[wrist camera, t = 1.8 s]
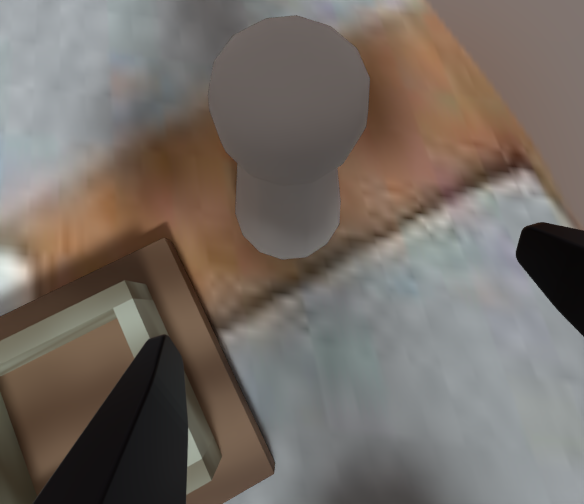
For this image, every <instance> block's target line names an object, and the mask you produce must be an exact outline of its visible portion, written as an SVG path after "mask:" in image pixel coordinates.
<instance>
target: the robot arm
mask: <svg viewBox="0 0 584 504" xmlns="http://www.w3.org/2000/svg"><path fill="white" fill-rule="evenodd" d="M516 258H517V260H518V262H519V263H520V265H521V266H522V267H523V268H524V270H525V271H526V272H527V273H528V274H529V276H530V277H531V278H532V279H533V281H534V282H535V283H536V284H537V286H538V287H539V288H540V289H541V290H542V292H543V293H544V294H545V295H546V297H547V298H548V299H549V300H550V302H551V303H552V304H553V305H554V306H555V307H556V309H557V310H558V311H559V312H560V313H561V314H562V315H563V316H564V317H565V318H566V319H567V320H568V321H569V322H570V323H571V324H572V325H573V326H574V327H575V328H576V329H577V330H578V331H579V332H580V333H581V334H582V335H583V336H584V231H583V230H578V229H573V228H568V227H564V226H559V225H554V224H549V223H544V222H540V223H535V224H532V225H529V226H526V227H524V228H523V230H522V231H521V235H520V238H519V242H518V246H517V249H516ZM187 460H188V414H187V402H186V389H185V377H184V365H183V359H182V356H181V354H180V353H179V351H178V349H177V348H176V346H175V345H174V343H173V342H172V340H171V338H170V337H169V336H168V335H166V334H162V335H159V336H155V337H152V338H150V339H148V340H147V341H146V342H145V344H144V345H143V347H142V348H141V350H140V351H139V352H138V354H137V355H136V357H135V358H134V359H133V361H132V362H131V364H130V365H129V367H128V368H127V369H126V371H125V372H124V374H123V375H122V377H121V378H120V379H119V381H118V382H117V384H116V385H115V387H114V388H113V389H112V391H111V392H110V394H109V395H108V397H107V398H106V399H105V401H104V402H103V404H102V405H101V406H100V408H99V409H98V411H97V412H96V414H95V415H94V416H93V418H92V419H91V421H90V422H89V424H88V425H87V426H86V428H85V429H84V431H83V432H82V434H81V435H80V436H79V438H78V439H77V441H76V442H75V444H74V445H73V446H72V448H71V449H70V451H69V452H68V454H67V455H66V456H65V458H64V459H63V461H62V462H61V463H60V465H59V466H58V468H57V469H56V471H55V472H54V473H53V475H52V476H51V478H50V479H49V481H48V482H47V483H46V485H45V486H44V488H43V489H42V491H41V492H40V493H39V495H38V496H37V498H36V499H35V501H34V502H33V503H32V504H186V490H187Z"/></svg>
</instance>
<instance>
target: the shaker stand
mask: <svg viewBox="0 0 584 504" xmlns="http://www.w3.org/2000/svg"><path fill="white" fill-rule="evenodd" d="M162 334H166V335H168V336H169V337H170V338H171V340H172V342H173V343H174V345H175V346H176V348H177V349H178V351H179V353H180V354H181V356H182V359H183V365H184V377H185V389H186V402H187V414H188V460H187V490H186V504H223V503H224V502H226V501H228V500H230V499H231V498H233V497H235V496H236V495H238V494H240V493H242V492H243V491H245V490H247V489H249V488H250V487H252V486H254V485H255V484H257V483H259V482H261V481H262V480H264V479H266V478H268V477H269V476H271V475H273V474H274V470H275V462H274V460H273V458H272V456H271V453H270V451H269V449H268V447H267V445H266V443H265V441H264V438H263V436H262V434H261V432H260V430H259V428H258V426H257V423H256V421H255V419H254V417H253V415H252V413H251V411H250V408H249V406H248V404H247V402H246V400H245V398H244V396H243V393H242V391H241V389H240V387H239V385H238V383H237V381H236V379H235V376H234V374H233V372H232V370H231V368H230V366H229V364H228V361H227V359H226V357H225V355H224V353H223V351H222V349H221V346H220V344H219V342H218V340H217V338H216V336H215V334H214V331H213V329H212V327H211V325H210V323H209V321H208V319H207V316H206V314H205V312H204V310H203V308H202V306H201V304H200V301H199V299H198V297H197V295H196V293H195V291H194V289H193V287H192V284H191V282H190V280H189V278H188V276H187V274H186V272H185V269H184V267H183V265H182V263H181V261H180V259H179V257H178V254H177V252H176V250H175V248H174V246H173V244H172V242H171V241H170V240H168V239H166V238H165V237H164V238H162V239H160V240H158V241H156V242H154V243H152V244H150V245H148V246H146V247H144V248H141V249H139V250H137V251H135V252H133V253H131V254H129V255H127V256H125V257H123V258H121V259H119V260H117V261H115V262H112V263H110V264H108V265H106V266H104V267H102V268H100V269H98V270H96V271H94V272H92V273H90V274H88V275H86V276H83V277H81V278H79V279H77V280H75V281H73V282H71V283H69V284H67V285H65V286H63V287H61V288H59V289H57V290H54V291H52V292H50V293H48V294H46V295H44V296H42V297H40V298H38V299H36V300H34V301H32V302H30V303H27V304H25V305H23V306H21V307H19V308H17V309H15V310H13V311H11V312H9V313H7V314H5V315H3V316H1V317H0V504H32V503H33V502H34V501H35V499H36V498H37V496H38V495H39V493H40V492H41V491H42V489H43V488H44V486H45V485H46V483H47V482H48V481H49V479H50V478H51V476H52V475H53V473H54V472H55V471H56V469H57V468H58V466H59V465H60V463H61V462H62V461H63V459H64V458H65V456H66V455H67V454H68V452H69V451H70V449H71V448H72V446H73V445H74V444H75V442H76V441H77V439H78V438H79V436H80V435H81V434H82V432H83V431H84V429H85V428H86V426H87V425H88V424H89V422H90V421H91V419H92V418H93V416H94V415H95V414H96V412H97V411H98V409H99V408H100V406H101V405H102V404H103V402H104V401H105V399H106V398H107V397H108V395H109V394H110V392H111V391H112V389H113V388H114V387H115V385H116V384H117V382H118V381H119V379H120V378H121V377H122V375H123V374H124V372H125V371H126V369H127V368H128V367H129V365H130V364H131V362H132V361H133V359H134V358H135V357H136V355H137V354H138V352H139V351H140V350H141V348H142V347H143V345H144V344H145V342H146V341H147V340H148V339H150V338H152V337H155V336H159V335H162Z"/></svg>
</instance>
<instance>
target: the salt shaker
mask: <svg viewBox="0 0 584 504" xmlns="http://www.w3.org/2000/svg"><path fill="white" fill-rule="evenodd" d="M369 85H370V77H369V75H368V73H367V70H366V68H365V66H364V64H363V61H362V59H361V57H360V54H359V52H358V50H357V48H356V47H355V46H353V45H352V44H351V43H350V42H349V41H347V40H346V39H345V38H344V37H343V36H341V35H340V34H339V33H338V32H337V31H335V30H334V29H333V28H332V27H330V26H328V25H325V24H322V23H319V22H316V21H312V20H309V19H306V18H303V17H300V16H297V15H296V16H286V17H275V18H266V19H264V20H262V21H260V22H258V23H256V24H254V25H252V26H250V27H248V28H246V29H244V30H242V31H241V32H239V33H237V34H235V35H233V36H232V38H231V39H230V40H229V42H228V43H227V44H226V46H225V47H224V49H223V50H222V51H221V53H220V54H219V55H218V57H217V58H216V59H215V61H214V63H213V69H212V74H211V80H210V85H209V91H208V100H209V110H210V113H211V116H212V119H213V121H214V124H215V127H216V130H217V132H218V135H219V138H220V141H221V143H222V145H223V147H224V149H225V151H226V153H227V154H228V155H229V156H231V157H232V158H233V159H234V160H235V161H236V162H237V186H236V209H235V214H236V217H237V220H238V223H239V225H240V228H241V231H242V234H243V236H244V237H245V238H246V239H247V240H248V241H249V242H250V243H251V244H252V245H253V246H254V247H255V248H256V249H257V250H258V251H259V252H261V253H264V254H267V255H270V256H274V257H277V258H280V259H292V258H302V257H308V256H309V255H311V254H312V253H314V252H315V251H317V250H318V249H320V248H321V247H323V246H324V245H326V244H327V243H328V241H329V239H330V238H331V236H332V235H333V233H334V232H335V230H336V229H337V227H338V225H339V220H340V202H341V201H340V191H339V180H338V170H337V167H339V166H341V165H342V164H343V163H344V161H345V160H346V158H347V157H348V155H349V153H350V152H351V150H352V149H353V147H354V146H355V144H356V143H357V141H358V140H359V138H360V136H361V135H362V133H363V131H364V129H365V128H366V123H367V115H368V103H369Z"/></svg>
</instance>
